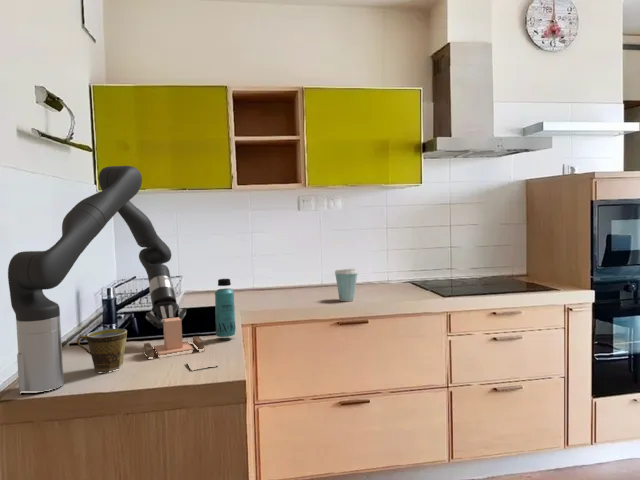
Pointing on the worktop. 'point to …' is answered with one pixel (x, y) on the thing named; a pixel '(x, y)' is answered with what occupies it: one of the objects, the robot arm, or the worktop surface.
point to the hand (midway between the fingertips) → (170, 337)
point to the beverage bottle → (224, 310)
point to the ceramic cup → (106, 348)
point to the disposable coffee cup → (346, 283)
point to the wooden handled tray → (149, 352)
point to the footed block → (172, 338)
